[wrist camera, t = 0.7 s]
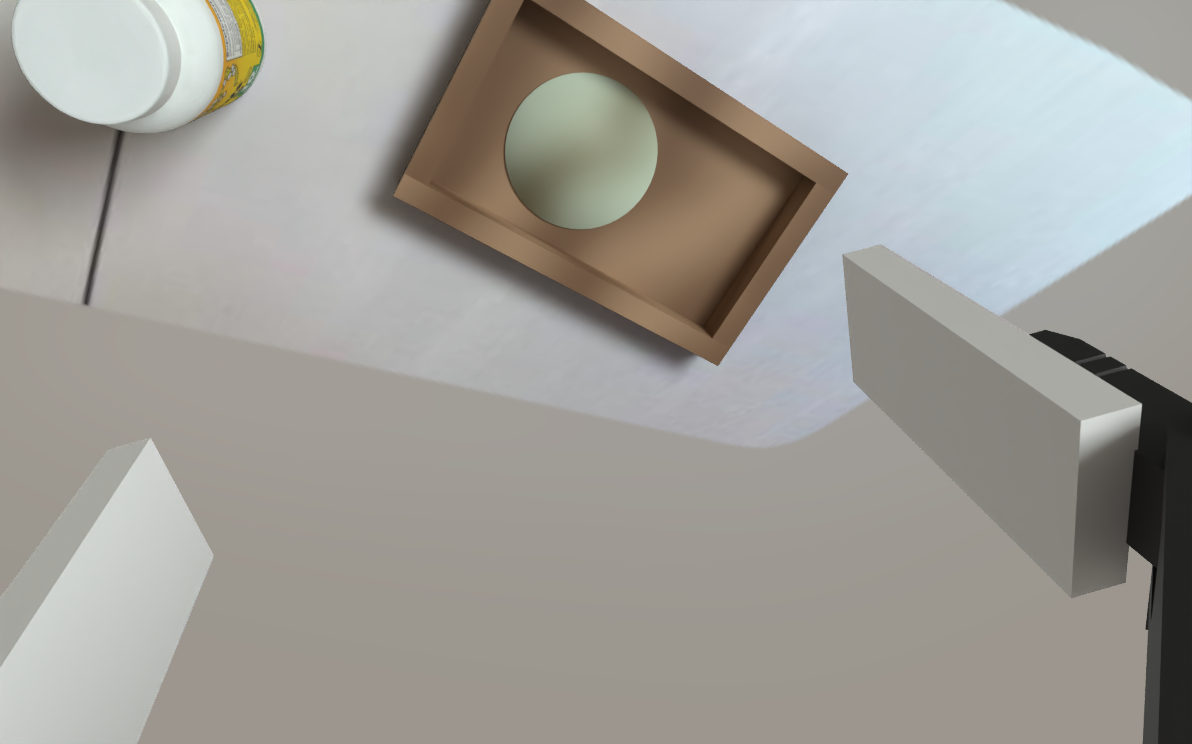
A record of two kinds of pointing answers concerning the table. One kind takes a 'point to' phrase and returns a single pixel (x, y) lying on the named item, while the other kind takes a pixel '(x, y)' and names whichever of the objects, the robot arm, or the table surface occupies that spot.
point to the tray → (616, 172)
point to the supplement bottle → (139, 57)
